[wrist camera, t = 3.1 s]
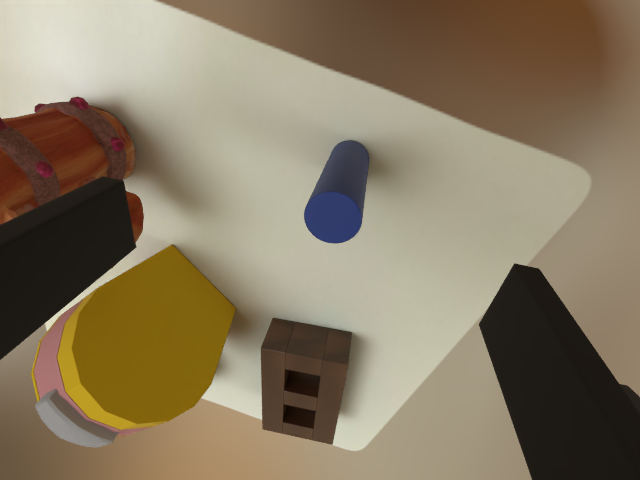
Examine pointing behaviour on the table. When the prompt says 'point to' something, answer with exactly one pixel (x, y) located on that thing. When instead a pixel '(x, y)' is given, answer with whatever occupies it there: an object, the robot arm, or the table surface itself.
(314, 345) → the holder
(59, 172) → the mug
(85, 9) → the table surface
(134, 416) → the alarm clock
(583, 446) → the robot arm
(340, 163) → the blue long cylinder
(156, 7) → the table surface
